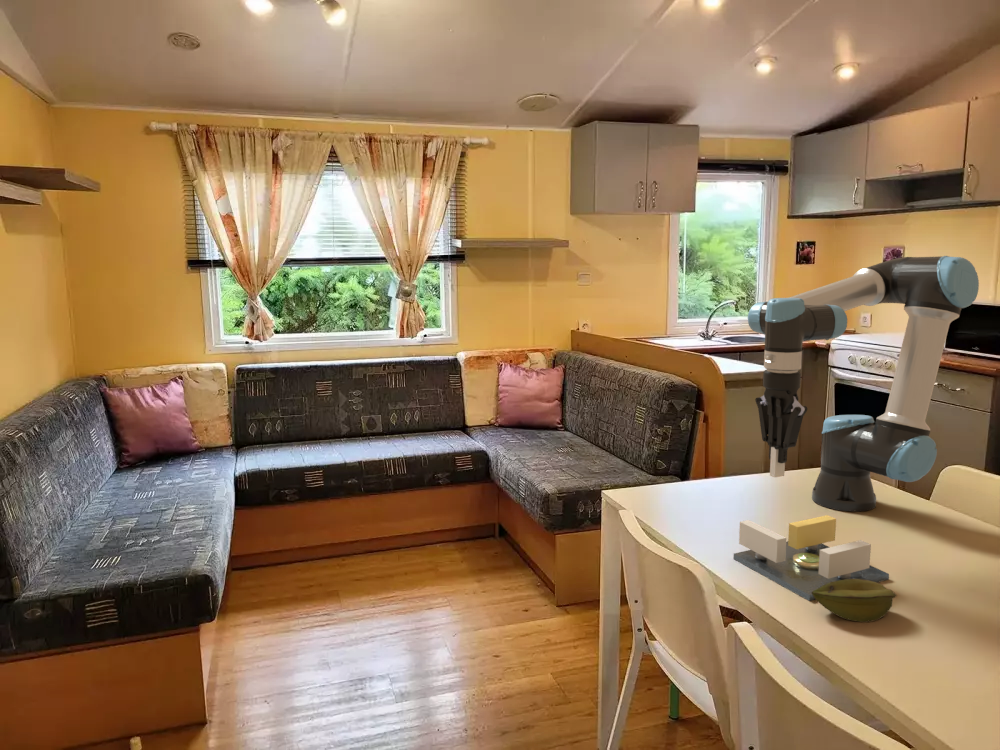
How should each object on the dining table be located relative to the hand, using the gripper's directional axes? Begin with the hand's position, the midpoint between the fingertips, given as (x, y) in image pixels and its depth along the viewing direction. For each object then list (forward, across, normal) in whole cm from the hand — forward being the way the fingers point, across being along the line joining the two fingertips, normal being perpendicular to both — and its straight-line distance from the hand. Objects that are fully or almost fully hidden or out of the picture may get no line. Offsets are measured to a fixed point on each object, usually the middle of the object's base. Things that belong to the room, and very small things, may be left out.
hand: (777, 475), depth 156 cm
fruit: (+17, +29, -8) cm, 34 cm away
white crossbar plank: (+15, +6, -9) cm, 18 cm away
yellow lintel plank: (+15, +6, +4) cm, 17 cm away
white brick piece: (+15, +20, -1) cm, 25 cm away
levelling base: (+17, +12, -2) cm, 20 cm away
